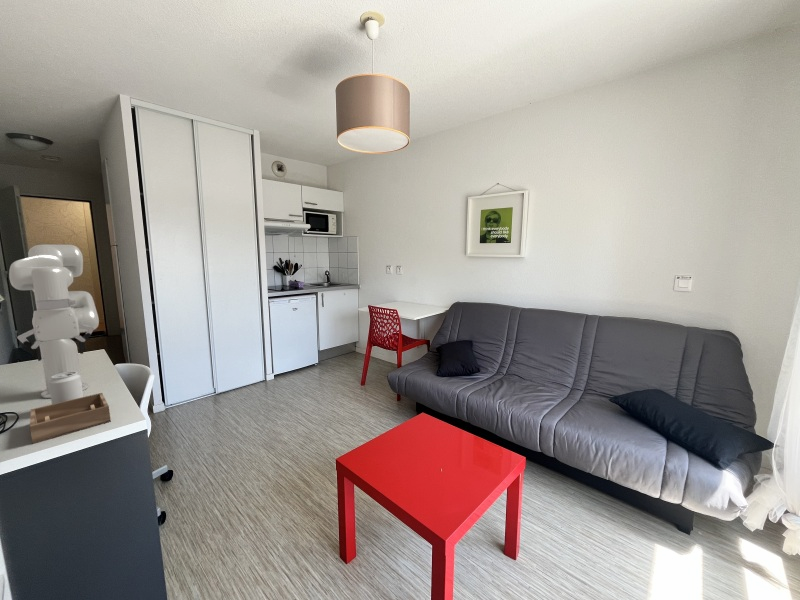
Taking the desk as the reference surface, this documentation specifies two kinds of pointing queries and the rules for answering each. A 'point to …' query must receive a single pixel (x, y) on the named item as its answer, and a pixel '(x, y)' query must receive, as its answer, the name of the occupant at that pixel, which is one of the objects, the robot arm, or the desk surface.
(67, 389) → the can
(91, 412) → the walnut box
